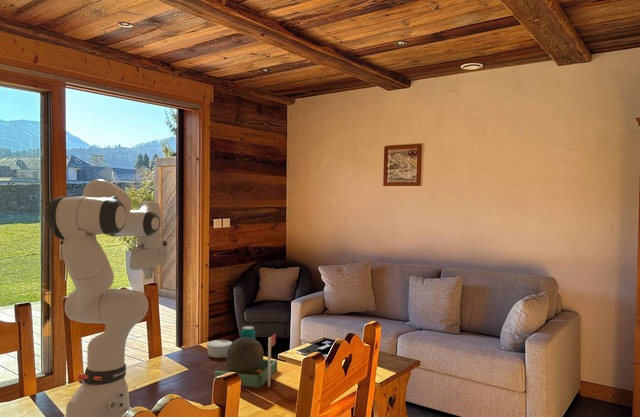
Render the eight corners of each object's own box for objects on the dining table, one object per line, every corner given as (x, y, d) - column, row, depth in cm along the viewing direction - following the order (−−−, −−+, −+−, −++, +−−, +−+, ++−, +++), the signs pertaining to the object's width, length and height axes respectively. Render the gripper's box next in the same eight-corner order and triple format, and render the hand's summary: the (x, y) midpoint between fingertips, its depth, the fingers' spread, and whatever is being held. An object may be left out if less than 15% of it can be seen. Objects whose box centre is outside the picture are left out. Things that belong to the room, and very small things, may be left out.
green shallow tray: (268, 388, 183) (269, 339, 182) (214, 382, 188) (214, 334, 187) (284, 371, 201) (285, 326, 201) (234, 366, 206) (235, 322, 206)
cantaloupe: (248, 385, 185) (249, 345, 185) (218, 378, 192) (218, 339, 191) (269, 374, 197) (270, 336, 197) (240, 368, 204) (241, 331, 204)
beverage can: (251, 365, 207) (252, 329, 207) (238, 364, 209) (239, 328, 208) (256, 361, 213) (257, 326, 213) (243, 360, 214) (244, 325, 214)
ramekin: (235, 352, 226) (236, 340, 226) (227, 359, 215) (227, 347, 215) (212, 350, 228) (212, 338, 228) (202, 357, 217) (202, 345, 217)
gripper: (140, 245, 183) (140, 283, 184) (170, 241, 203) (169, 275, 203) (125, 245, 185) (125, 282, 185) (156, 241, 205) (155, 274, 205)
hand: (148, 278), depth 194 cm, fingers closed
